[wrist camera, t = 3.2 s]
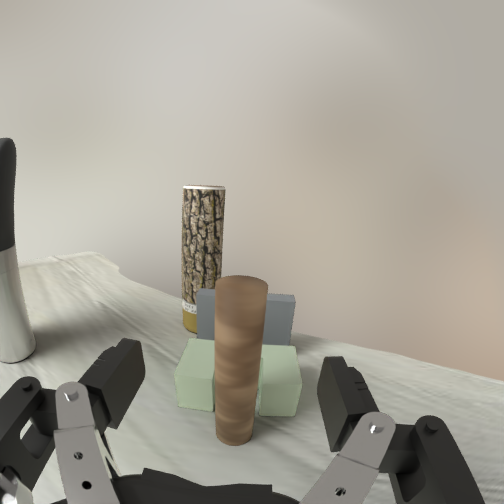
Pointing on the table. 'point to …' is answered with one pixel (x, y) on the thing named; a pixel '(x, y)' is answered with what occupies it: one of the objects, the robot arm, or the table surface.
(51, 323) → the table surface
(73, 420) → the robot arm
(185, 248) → the brown bark cylinder
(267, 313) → the wall
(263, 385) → the cradle
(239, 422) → the brown banded cylinder
